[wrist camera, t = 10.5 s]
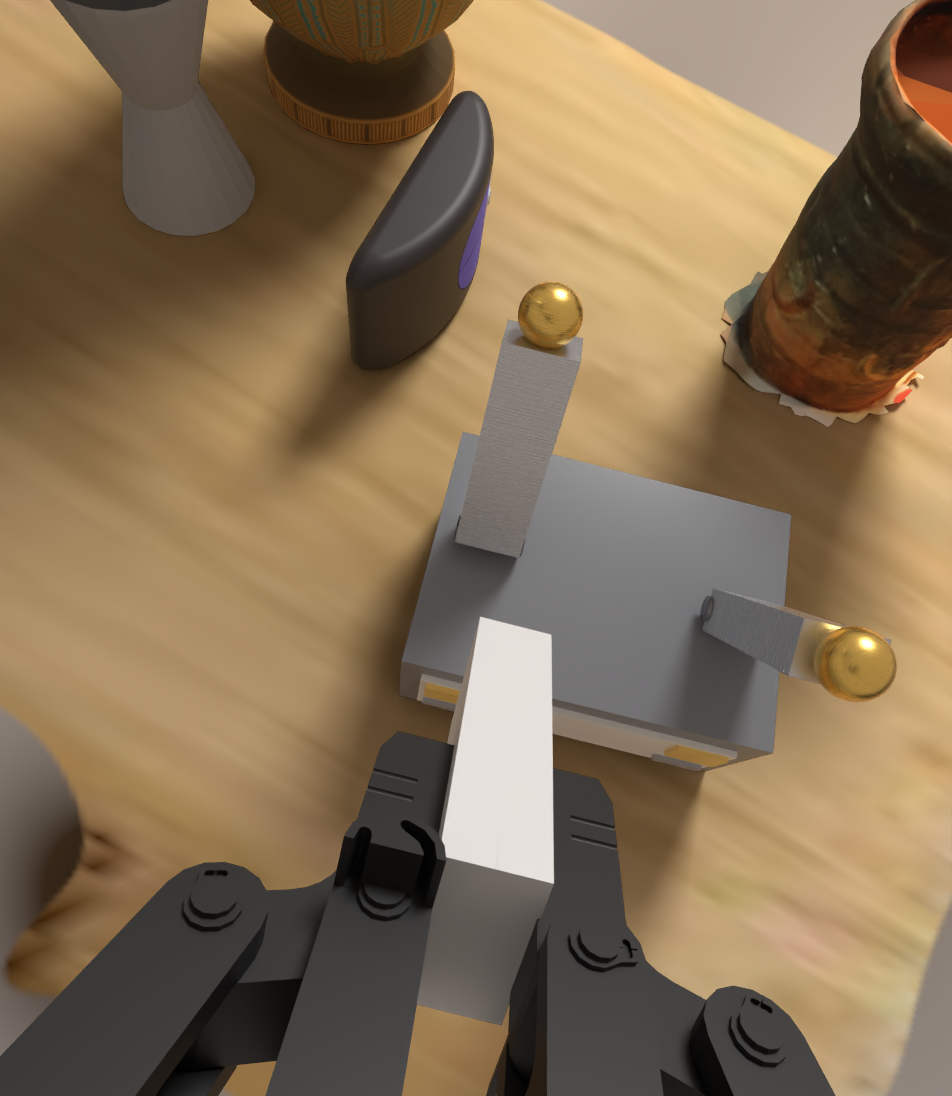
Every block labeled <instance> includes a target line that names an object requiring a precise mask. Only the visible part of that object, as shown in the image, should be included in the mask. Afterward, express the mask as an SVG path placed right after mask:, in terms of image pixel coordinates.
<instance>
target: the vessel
mask: <svg viewBox="0 0 952 1096" xmlns="http://www.w3.org/2000/svg"><path fill="white" fill-rule="evenodd" d="M722 318H723V319H724V320H726V321H727V322H729V323H730V324H732V325H731V326H729V327H728V328H727V329H726V330H725V331H723V332H722V333H721V335H722V337H723V338H724V339H725V341H726V342H727V343H726V347H725V353H724V361H725V362H726V363H727V364H728V365H729V366H730V367H731V368H733V369H734V370H735V371H736V372H737V373H738V374H739V375H740V376H741V378H742V379H743V380H744V381H745V382H747V383H748V384H749V385H750V386H751V387H753V388H755V389H756V390H758V391H760V392H766V393H775V394H781V397H780V401H779V404H780V405H785V406H789V407H791V409H792V410H793V412H794V414H795V415H799V416H805V415H806V416H808V417H811V418H813V419H815V420H817V421H818V422H820V423H822V424H823V425H825V426H826V427H829V426H830V425H831V424H832V423H833V422H834V420H835V419H836V417H839V418H841V419H843V420H846V421H849V422H852V423H857V422H859V421H860V420H862V419H863V418H864V417H865V416H866V415H867V414H868V413H872V414H877V415H881V414H886V413H889V412H888V411H887V410H886V408H885V407H884V406H886V405H889V404H893V403H899V402H901V401H902V400H903V399H904V398H905V397H906V396H907V395H908V394H909V393H910V392H911V391H912V390H911V389H910V388H909V387H908V386H907V385H908V383H909V382H910V380H912V379H914V378H916V377H919V378H921V379H922V380H923V377H924V376H922V375H920V374H919V373H917V372H915V371H914V370H913V368H914V367H916V366H917V365H918V364H920V363H921V362H922V361H924V360H925V359H927V358H928V357H929V356H930V355H931V354H932V353H933V352H934V351H935V350H936V349H938V348H940V347H942V346H944V345H945V344H946V343H947V342H948V341H949V339H950V338H952V0H915V1H914V2H912V3H911V4H909V5H908V6H906V7H905V8H903V9H902V10H901V11H899V13H898V14H897V15H896V16H895V17H894V18H893V19H892V20H891V22H890V23H889V25H888V26H887V28H886V29H885V31H884V33H883V34H882V36H881V37H880V39H879V40H878V42H877V43H876V44H875V46H874V47H873V49H872V50H871V52H870V55H869V57H868V59H867V61H866V64H865V67H864V71H863V74H862V86H861V99H860V118H859V122H858V125H857V128H856V130H855V131H854V133H853V134H852V136H851V138H850V140H849V141H848V143H847V144H846V146H845V147H844V149H843V150H842V152H841V153H840V155H839V156H838V158H837V159H836V160H835V161H834V162H833V164H832V165H831V166H830V167H829V168H828V169H827V171H826V172H825V173H824V175H823V176H822V178H821V179H820V181H819V182H818V184H817V185H816V187H815V189H814V190H813V192H812V193H811V195H810V196H809V198H808V200H807V202H806V204H805V206H804V208H803V210H802V211H801V213H800V216H799V218H798V220H797V222H796V224H795V226H794V227H793V229H792V231H791V232H790V234H789V236H788V238H787V239H786V241H785V243H784V245H783V247H782V248H781V250H780V252H779V254H778V256H777V258H776V260H775V262H774V263H773V265H772V267H771V268H770V270H769V271H768V272H766V273H764V274H762V273H760V272H757V274H756V275H755V277H754V279H753V281H752V283H751V284H750V285H748V286H746V287H744V288H743V289H741V290H739V291H737V292H735V293H734V294H732V295H731V296H730V297H729V298H728V299H727V300H726V301H725V310H724V313H723V316H722Z"/></svg>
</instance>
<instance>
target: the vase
mask: <svg viewBox="0 0 952 1096" xmlns="http://www.w3.org/2000/svg"><path fill="white" fill-rule="evenodd" d="M250 1H251V3H252V4H253V5H254V6H256V7H257V8H258V9H259V10H261V11H262V12H263V13H264V14H266V15H267V16H268V17H269V18H271V19H272V20H273V23H272V25H271V27H270V29H269V31H268V33H267V35H266V37H265V47H264V59H265V66H266V72H267V78H268V81H269V85H270V88H271V92H272V95H273V97H274V98H275V99H276V101H277V102H278V104H279V105H280V107H281V108H282V109H283V111H284V112H285V113H286V114H287V115H289V116H290V117H291V118H292V119H294V120H295V121H296V122H297V123H298V124H300V125H301V126H303V127H305V128H307V129H309V130H311V131H313V132H315V133H317V134H319V135H321V136H323V137H327V138H331V139H335V140H339V141H342V142H346V143H359V144H378V143H386V142H393V141H398V140H401V139H404V138H406V137H409V136H412V135H415V134H417V133H419V132H421V131H422V130H424V129H425V128H427V127H428V126H430V125H431V124H433V123H434V122H435V121H436V120H437V119H438V118H439V117H440V115H441V114H442V113H443V112H444V110H445V109H446V108H447V106H448V103H449V101H450V98H451V95H452V92H453V85H454V74H455V56H454V49H453V47H452V44H451V42H450V39H449V37H448V34H447V33H446V32H445V31H444V29H446V28H447V27H448V26H450V25H451V24H453V23H454V22H455V21H457V20H458V18H459V17H460V16H461V15H462V14H463V13H464V11H465V10H466V9H467V8H468V7H469V5H470V4H471V3H472V2H473V0H250Z"/></svg>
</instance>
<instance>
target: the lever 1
mask: <svg viewBox="0 0 952 1096" xmlns="http://www.w3.org/2000/svg"><path fill="white" fill-rule="evenodd" d="M582 320H583V309H582V305H581V302H580V299H579V298H578V296H577V295H576V293H575V292H574V291H573V290H572V289H571V288H570V287H568V286H566V285H564V284H562V283H559V282H544V283H541V284H538V285H536V286H535V287H533V288H532V289H530V290H529V291H528V292H527V293H526V295H525V296H524V297H523V299H522V301H521V303H520V306H519V311H518V322H516V321H512V320H508V323H507V326H506V330H505V333H504V337H503V341H502V345H501V349H500V353H499V357H498V361H497V366H496V370H495V374H494V378H493V383H492V387H491V391H490V395H489V399H488V404H487V408H486V412H485V416H484V421H483V425H482V429H481V433H480V438H479V442H478V446H477V450H476V454H475V459H474V463H473V467H472V471H471V476H470V480H469V484H468V488H467V493H466V497H465V501H464V505H463V509H462V514H461V516H460V515H459V519H458V522H457V526H456V530H455V535H454V539H453V541H455V542H456V543H460V544H464V545H468V546H472V547H476V548H480V549H484V550H488V551H492V552H496V553H500V554H504V555H508V556H512V557H516V558H519V557H521V555H522V552H523V548H524V544H525V540H526V535H527V531H528V528H529V525H530V522H531V519H532V515H533V512H534V509H535V506H536V503H537V499H538V496H539V493H540V490H541V487H542V483H543V480H544V477H545V474H546V471H547V468H548V464H549V461H550V458H551V455H552V452H553V448H554V445H555V442H556V439H557V436H558V433H559V429H560V426H561V423H562V420H563V417H564V413H565V410H566V407H567V404H568V401H569V398H570V394H571V391H572V388H573V385H574V382H575V378H576V375H577V372H578V369H579V366H580V363H581V354H582V344H583V338H579V337H575V336H576V335H577V333H578V331H579V330H580V327H581V324H582Z"/></svg>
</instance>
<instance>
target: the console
mask: <svg viewBox="0 0 952 1096" xmlns="http://www.w3.org/2000/svg"><path fill="white" fill-rule="evenodd" d="M479 438H480V436H478V435H474V434H470V433H466V432H463V433H462V437H461V440H460V444H459V448H458V452H457V455H456V459H455V463H454V467H453V470H452V474H451V478H450V482H449V485H448V489H447V493H446V496H445V500H444V504H443V508H442V511H441V515H440V519H439V523H438V526H437V530H436V534H435V537H434V541H433V545H432V549H431V552H430V556H429V560H428V564H427V567H426V571H425V575H424V579H423V582H422V586H421V590H420V593H419V597H418V601H417V605H416V608H415V612H414V616H413V620H412V623H411V627H410V631H409V635H408V638H407V642H406V646H405V649H404V653H403V657H402V661H401V674H400V689H399V696H403V697H407V698H411V699H415V700H418V701H422V704H426V705H430V706H434V707H438V708H442V709H446V710H450V711H455V708H456V704H457V700H458V697H459V693H460V689H461V685H462V682H463V678H464V674H465V671H466V667H467V663H468V660H469V656H470V652H471V649H472V645H473V641H474V638H475V634H476V630H477V627H478V623H479V619H480V617H483V618H487V619H491V620H495V621H499V622H503V623H507V624H511V625H515V626H519V627H523V628H527V629H531V630H535V631H539V632H543V633H547V634H551V640H552V734H556V735H560V736H564V737H568V738H572V739H576V740H580V741H584V742H588V743H592V744H596V745H600V746H604V747H608V748H612V749H616V750H620V751H624V752H628V753H632V754H637V755H641V756H645V757H649V758H651V760H653V761H657V762H661V763H665V764H669V765H673V766H677V767H681V768H685V769H689V770H693V771H700V770H703V771H708V770H712V769H716V768H719V767H723V766H727V765H731V764H734V763H738V762H742V761H745V760H749V759H753V758H757V757H760V756H764V755H768V754H772V753H773V748H774V735H775V722H776V709H777V696H778V683H779V671H778V670H776V669H774V668H772V667H771V666H769V665H767V664H765V663H763V662H761V661H759V660H757V659H756V658H754V657H752V656H750V655H748V654H746V653H744V652H742V651H741V650H739V649H737V648H735V647H733V646H731V645H729V644H728V643H726V642H724V641H722V640H720V639H718V638H716V637H714V636H713V635H711V634H709V633H707V632H705V631H703V630H702V627H703V623H704V621H701V618H700V612H701V607H702V603H703V601H704V599H705V597H706V596H711V593H712V590H713V588H716V589H720V590H724V591H728V592H732V593H736V594H740V595H744V596H748V597H752V598H756V599H760V600H764V601H768V602H772V603H776V604H779V605H782V606H784V604H785V591H786V578H787V565H788V552H789V539H790V526H791V514H787V513H783V512H779V511H775V510H772V509H768V508H764V507H760V506H756V505H752V504H748V503H744V502H740V501H736V500H732V499H728V498H724V497H720V496H716V495H712V494H708V493H704V492H700V491H696V490H692V489H688V488H684V487H680V486H676V485H672V484H668V483H664V482H660V481H656V480H652V479H648V478H644V477H640V476H637V475H633V474H629V473H625V472H621V471H617V470H613V469H609V468H605V467H601V466H597V465H593V464H589V463H585V462H581V461H577V460H573V459H569V458H565V457H561V456H557V455H553V454H552V455H551V458H550V461H549V464H548V468H547V471H546V474H545V477H544V480H543V483H542V487H541V490H540V493H539V496H538V499H537V503H536V506H535V509H534V512H533V515H532V519H531V522H530V525H529V528H528V531H527V535H526V540H525V544H524V548H523V552H522V555H521V557H519V558H516V557H512V556H508V555H504V554H500V553H496V552H492V551H488V550H484V549H480V548H476V547H472V546H468V545H464V544H460V543H456V542H455V541H453V539H454V535H455V530H456V526H457V522H458V519H459V515H460V516H461V514H462V509H463V505H464V501H465V497H466V493H467V488H468V484H469V480H470V476H471V471H472V467H473V463H474V459H475V454H476V450H477V446H478V442H479Z"/></svg>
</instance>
